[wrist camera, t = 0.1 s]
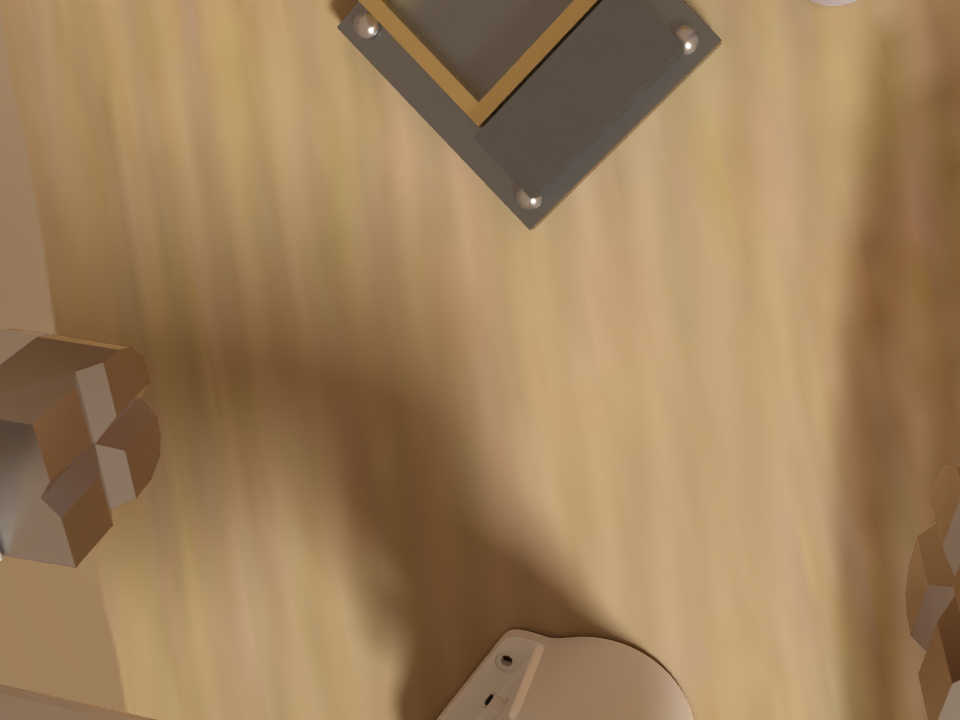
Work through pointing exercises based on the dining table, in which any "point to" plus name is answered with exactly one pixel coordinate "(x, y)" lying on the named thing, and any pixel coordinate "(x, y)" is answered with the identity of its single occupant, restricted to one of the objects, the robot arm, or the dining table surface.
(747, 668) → the dining table surface
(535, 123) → the grey plate with frame
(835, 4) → the spray bottle
